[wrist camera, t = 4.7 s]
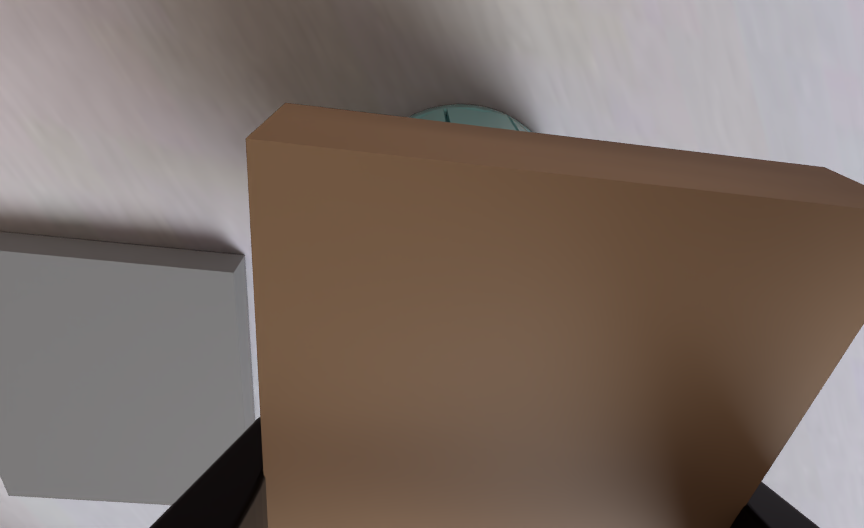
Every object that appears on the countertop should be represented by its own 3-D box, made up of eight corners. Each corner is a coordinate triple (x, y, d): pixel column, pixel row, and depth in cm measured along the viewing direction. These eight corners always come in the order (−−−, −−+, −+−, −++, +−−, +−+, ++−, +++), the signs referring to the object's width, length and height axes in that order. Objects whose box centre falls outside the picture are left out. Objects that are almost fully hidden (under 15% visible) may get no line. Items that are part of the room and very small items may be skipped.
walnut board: (597, 611, 11) (621, 696, 10) (292, 598, 10) (274, 686, 9) (823, 167, 6) (933, 216, 5) (285, 103, 6) (245, 138, 4)
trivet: (258, 485, 23) (251, 509, 22) (28, 471, 22) (8, 495, 21) (244, 255, 17) (233, 272, 16) (-67, 225, 17) (-100, 241, 16)
